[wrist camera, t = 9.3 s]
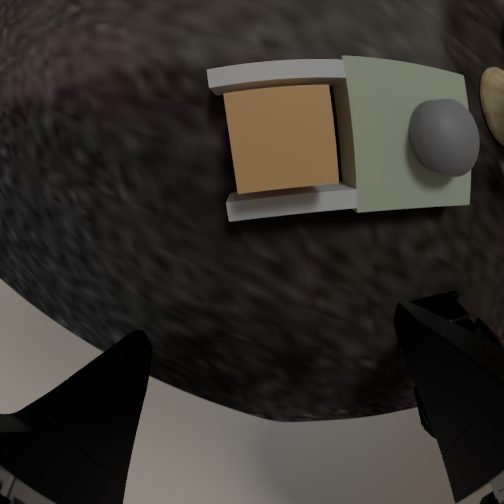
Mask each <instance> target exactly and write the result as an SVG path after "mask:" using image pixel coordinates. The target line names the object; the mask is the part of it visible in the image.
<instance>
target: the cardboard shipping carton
mask: <svg viewBox="0 0 504 504" xmlns="http://www.w3.org/2000/svg"><path fill="white" fill-rule="evenodd" d="M223 95H224V102H225V109H226V116H227V123H228V130H229V137H230V144H231V151H232V158H233V165H234V171H235V178H236V185H237V192H238V194H243V193H251V192H259V191H267V190H276V189H285V188H295V187H305V186H316V185H328V184H339V176H338V162H337V150H336V140H335V130H334V121H333V112H332V105H331V97H330V90H329V85H297V86H282V87H270V88H260V89H251V90H243V91H236V92H229V93H223Z"/></svg>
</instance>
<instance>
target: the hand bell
mask: <svg viewBox="0 0 504 504" xmlns="http://www.w3.org/2000/svg"><path fill="white" fill-rule="evenodd" d="M480 98H481V106H482V109H483V114H484V116H485V119H486V122H487V124H488V127H489V129H490V130H491V132H492V134H493V136H494V137H495V138H496V140H497V141H498V142H499V143H500V144H502V145H503V146H504V71H503V70H501V69H499V68H496V67H489V68H487V69H486V70H485V71H484V73H483V74H482V77H481V81H480Z"/></svg>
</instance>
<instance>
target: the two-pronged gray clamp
mask: <svg viewBox="0 0 504 504" xmlns="http://www.w3.org/2000/svg"><path fill="white" fill-rule="evenodd" d="M207 76H208V83H209V88H210V89H211V91H212V92H213V93H214V94H215V95H222V94H223V93H229V92H236V91H243V90H251V89H260V88H270V87H282V86H297V85H329V86H333V91H334V98H335V106H336V114H337V123H338V132H339V143H340V155H341V168H342V182H339V184H328V185H316V186H305V187H295V188H285V189H276V190H267V191H259V192H251V193H243V194H238V192H234V193H230V195H229V197H228V199H227V201H226V206H227V213H228V219H229V222H231V221H239V220H247V219H255V218H264V217H273V216H282V215H291V214H300V213H310V212H320V211H331V210H342V209H353V210H354V211H356V212H357V213H360V212H371V211H383V210H396V209H409V208H424V207H439V206H456V205H469V202H470V186H471V169H472V167H473V166H474V164H475V162H476V160H477V157H478V153H479V133H478V129H477V126H476V123H475V121H474V118H473V117H472V115H471V113H470V112H469V111H468V102H467V94H466V88H465V81H464V76H463V75H460V74H456V73H453V72H449V71H445V70H441V69H437V68H432V67H428V66H423V65H418V64H413V63H407V62H401V61H394V60H387V59H379V58H369V57H358V56H341V57H340V58H339V59H338V60H332V59H303V60H280V61H267V62H256V63H247V64H239V65H232V66H226V67H219V68H214V69H208V70H207Z"/></svg>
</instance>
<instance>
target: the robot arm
mask: <svg viewBox="0 0 504 504" xmlns="http://www.w3.org/2000/svg"><path fill="white" fill-rule="evenodd" d="M459 297H460V293H459V292H458V291H452V292H448V293H444V294H440V295H435V296H431V297H427V298H423V299H418V300H413V301H411V302H409V301H405V302H400V303H398V304H397V307H396V312H395V317H394V328H395V331H396V334H397V337H398V340H399V343H400V345H399V351H400V353H403V355H404V358H405V361H406V364H407V366H408V368H409V371H410V373H411V375H412V377H413V380H414V382H415V384H416V386H415V387H414V392H415V397H416V402H417V406H418V411H419V415H420V420H421V424H422V426H423V427H424V430H425V431H427V432H428V433H429V434H430V435H431V436H432V437H434V438H436V439H437V442H438V445H439V448H440V451H441V454H442V458H443V461H444V464H445V468H446V471H447V475H448V478H449V481H450V485H451V489H452V493H453V497H454V500H455V503H458V502H460V501H461V500H463V499H465V498H467V497H468V496H470V495H472V494H473V493H474V492H477V491H478V490H480V489H481V488H483V487H484V486H486V485H487V484H489V483H490V484H491V487H492V489H493V491H492V492H491V493H489V494H488V495H486V496H485V497H483V498H482V499H481V502H480V504H504V343H503V342H502V341H501V339H500V338H499V337H498V336H497V335H496V334H495V333H494V332H493V331H492V330H491V329H490V328H489V327H488V326H487V325H486V324H485V323H484V322H483V321H482V320H481V319H480V318H479V317H478V318H477V320H476V321H475V324H474V323H473V322H472V321H471V320H470V319H469V318H470V315H469V313H468V312H467V311H466V310H465V309H464V308H463V307H462V306H461V305H460V304H459V303H458V300H459ZM151 359H152V347H151V345H150V342H149V340H148V338H147V335H146V333H145V332H144V331H142V330H135V331H132V332H131V333H129V334H128V335H127V336H125V337H124V338H123V339H121V340H120V341H118V342H117V343H116V344H114V345H113V346H112V347H110V348H109V349H108V350H106V351H105V352H103V353H102V354H101V355H99V356H98V357H97V358H95V359H94V360H93V361H91V362H90V363H88V364H87V365H86V366H84V367H83V368H82V369H80V370H79V371H78V372H76V373H75V374H73V375H72V376H71V377H69V378H68V380H65V381H64V382H63V383H61V384H60V385H59V386H57V387H56V388H54V389H53V390H51V391H50V392H48V393H47V394H45V395H44V396H42V397H41V398H39V399H37V400H36V401H34V402H33V403H31V404H29V405H28V406H26V407H25V408H23V409H21V410H20V411H18V412H15V413H12V414H0V504H123V499H124V493H125V486H126V485H125V484H126V480H127V474H128V469H129V464H130V459H131V454H132V450H133V445H134V440H135V435H136V431H137V427H138V423H139V418H140V414H141V410H142V406H143V402H144V398H145V394H146V390H147V385H148V379H149V372H150V365H151Z"/></svg>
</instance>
